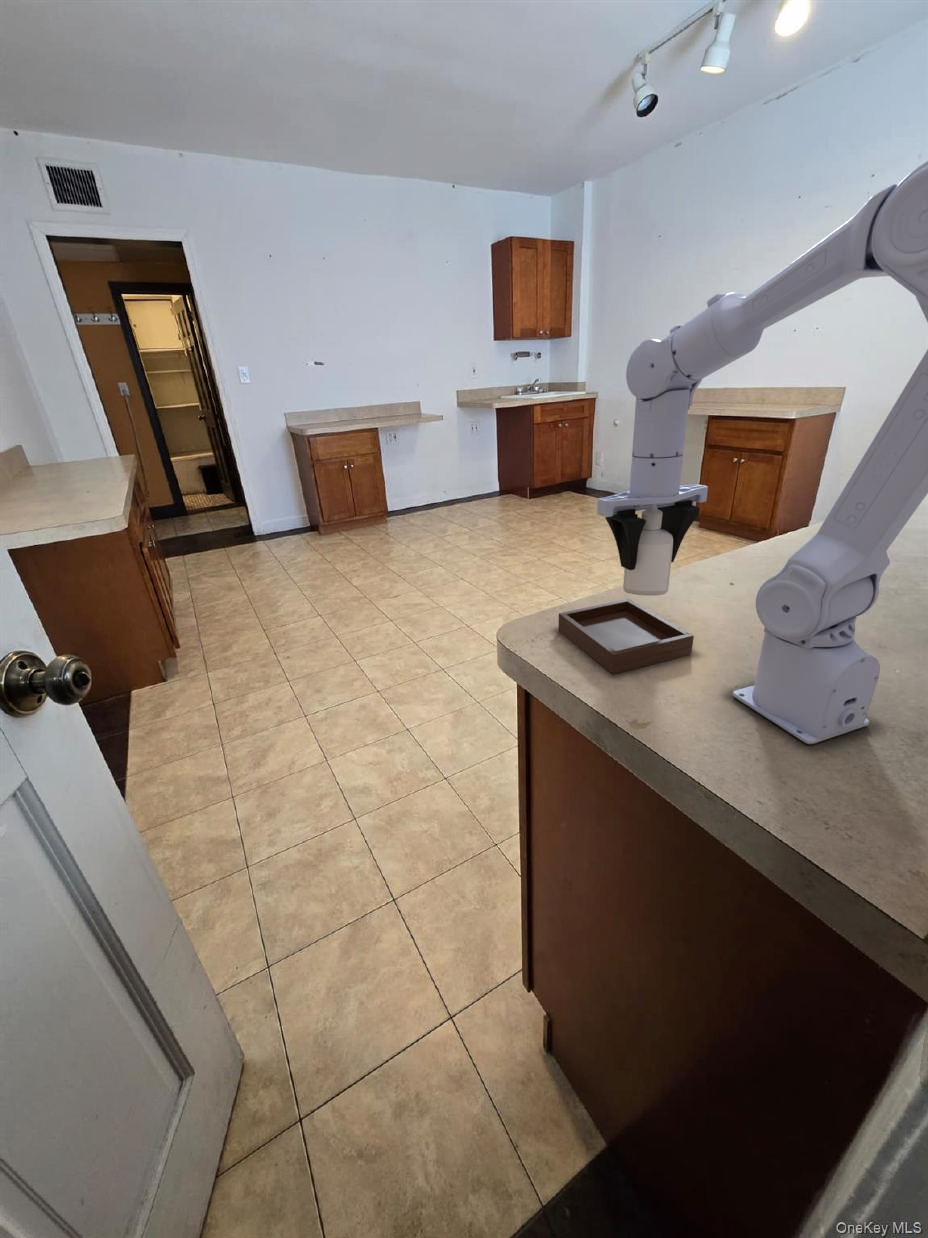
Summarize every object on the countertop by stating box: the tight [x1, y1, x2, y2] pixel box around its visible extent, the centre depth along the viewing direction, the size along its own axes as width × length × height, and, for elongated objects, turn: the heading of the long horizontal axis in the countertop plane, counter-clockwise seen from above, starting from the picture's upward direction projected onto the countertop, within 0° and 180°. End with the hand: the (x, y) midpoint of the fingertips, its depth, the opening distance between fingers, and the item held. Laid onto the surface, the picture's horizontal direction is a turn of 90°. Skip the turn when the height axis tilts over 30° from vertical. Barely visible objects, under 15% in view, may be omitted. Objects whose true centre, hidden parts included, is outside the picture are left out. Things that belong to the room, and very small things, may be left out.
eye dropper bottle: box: [622, 504, 673, 597], centre depth 65 cm, size 4×6×12 cm
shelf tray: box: [558, 598, 695, 675], centre depth 69 cm, size 14×12×3 cm
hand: (647, 563), depth 66 cm, fingers closed on eye dropper bottle, 5 cm apart
